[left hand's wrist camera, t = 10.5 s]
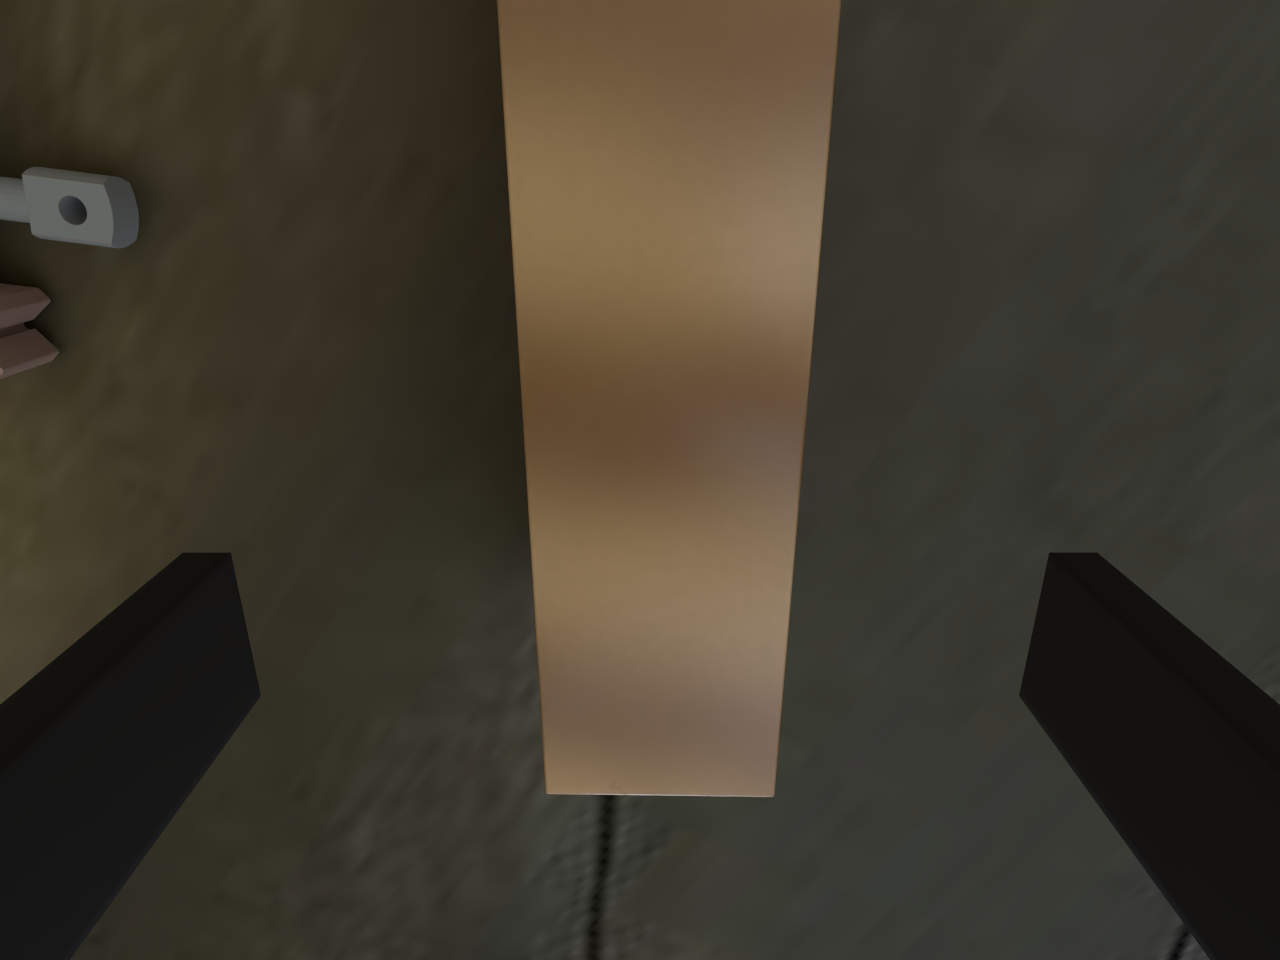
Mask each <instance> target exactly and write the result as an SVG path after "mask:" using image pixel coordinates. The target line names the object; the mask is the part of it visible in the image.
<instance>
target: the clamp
mask: <svg viewBox="0 0 1280 960" xmlns="http://www.w3.org/2000/svg"><path fill="white" fill-rule="evenodd" d="M0 219H1V220H9V221H17V222H25V223H30V226H31V231H32V234H33V235H34V236H36V237H38V238H41V239H48V240H56V241H64V242H72V243H80V244H88V245H96V246H104V247H111V248H125V247H127V246H129V245H131V244H132V243H133V242H135V241H136V240H137V235H138V229H139V215H138V207H137V203H136V199H135V195H134V193H133V190H132V187H131V185H130V183H129V182H127V181H126V180H124V179H122V178H120V177H116V176H108V175H101V174H93V173H85V172H77V171H69V170H61V169H53V168H46V167H31V168H29V169H27V170H26V171H25V172H24V173H23V174H22V179H17V178H9V177H1V176H0ZM50 302H51V300H50V298H49V297H47V296H46V295H45V294H44V293H43V292H42V291H41V290H40V289H39V288H35V287H27V286H19V285H11V284H3V283H0V379H2V378H5V377H8V376H11V375H14V374H17V373H20V372H22V371H25V370H28V369H31V368H34V367H37V366H40V365H42V364H45V363H48V362H51V361H52V360H53V359H54V358H55V357H56V356H57V355H58V354H59V350H58V349H57V348H55V347H54V346H53V345H52V344H51V343H50V342H49V341H48V340H47V339H46V338H45V337H44V336H43V335H42V334H40V333H39V332H38V331H37V330H36V329H28V328H26V327H25V325H24V322H27V321H31V320H34V319H35V318H36V317H37V316H38V314H39V313H40V312H41V311H42V310H43V309H44V308H45V307H46V306H47V305H48V304H49V303H50Z"/></svg>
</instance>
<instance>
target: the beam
mask: <svg viewBox="0 0 1280 960" xmlns="http://www.w3.org/2000/svg"><path fill="white" fill-rule="evenodd" d="M840 11H841V0H497V14H498V30H499V46H500V62H501V78H502V94H503V111H504V127H505V143H506V159H507V175H508V191H509V207H510V224H511V240H512V256H513V272H514V288H515V304H516V321H517V337H518V353H519V369H520V385H521V401H522V417H523V434H524V450H525V466H526V482H527V498H528V514H529V530H530V547H531V563H532V579H533V595H534V611H535V627H536V644H537V660H538V676H539V692H540V708H541V724H542V740H543V757H544V773H545V789H546V793H547V794H589V795H663V796H738V797H773V796H774V794H775V784H776V772H777V760H778V748H779V736H780V724H781V712H782V700H783V689H784V677H785V665H786V653H787V641H788V629H789V617H790V605H791V593H792V581H793V570H794V558H795V546H796V534H797V522H798V510H799V498H800V486H801V474H802V463H803V451H804V439H805V427H806V415H807V403H808V391H809V379H810V367H811V356H812V344H813V332H814V320H815V308H816V296H817V284H818V272H819V260H820V249H821V237H822V225H823V213H824V201H825V189H826V177H827V165H828V153H829V141H830V130H831V118H832V106H833V94H834V82H835V70H836V58H837V46H838V34H839V23H840Z"/></svg>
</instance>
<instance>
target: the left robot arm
mask: <svg viewBox="0 0 1280 960" xmlns="http://www.w3.org/2000/svg"><path fill="white" fill-rule="evenodd" d="M260 696H261V694H260V690H259V685H258V680H257V675H256V671H255V666H254V661H253V657H252V652H251V647H250V642H249V638H248V633H247V628H246V623H245V619H244V614H243V609H242V604H241V600H240V595H239V590H238V585H237V581H236V576H235V571H234V566H233V562H232V557H231V553H182V554H181V555H179V556H178V557H177V558H176V559H175V560H173V561H172V562H171V563H170V564H169V565H167V566H166V567H165V568H164V569H163V570H161V571H160V572H159V573H158V574H157V575H155V576H154V577H153V578H152V579H151V580H149V581H148V582H147V583H146V584H145V585H143V586H142V587H141V588H140V589H139V590H137V591H136V592H135V593H134V594H133V595H131V596H130V597H129V598H128V599H127V600H125V601H124V602H123V603H122V604H121V605H119V606H118V607H117V608H116V609H115V610H113V611H112V612H111V613H110V614H109V615H107V616H106V617H105V618H104V619H103V620H101V621H100V622H99V623H98V624H97V625H95V626H94V627H93V628H92V629H91V630H89V631H88V632H87V633H86V634H85V635H83V636H82V637H81V638H80V639H79V640H77V641H76V642H75V643H74V644H73V645H71V646H70V647H69V648H68V649H67V650H65V651H64V652H63V653H62V654H61V655H59V656H58V657H57V658H56V659H55V660H53V661H52V662H51V663H50V664H49V665H47V666H46V667H45V668H44V669H43V670H41V671H40V672H39V673H38V674H37V675H35V676H34V677H33V678H32V679H31V680H29V681H28V682H27V683H26V684H25V685H23V686H22V687H21V688H20V689H19V690H17V691H16V692H15V693H14V694H13V695H11V696H10V697H9V698H8V699H7V700H5V701H4V702H3V703H2V704H1V705H0V960H70V959H71V957H72V956H73V955H74V953H75V952H76V950H77V949H78V948H79V946H80V945H81V943H82V942H83V941H84V939H85V938H86V937H87V935H88V934H89V932H90V931H91V930H92V928H93V927H94V925H95V924H96V923H97V921H98V920H99V919H100V917H101V916H102V914H103V913H104V912H105V910H106V909H107V908H108V906H109V905H110V903H111V902H112V901H113V899H114V898H115V896H116V895H117V894H118V892H119V891H120V890H121V888H122V887H123V885H124V884H125V883H126V881H127V880H128V879H129V877H130V876H131V874H132V873H133V872H134V870H135V869H136V867H137V866H138V865H139V863H140V862H141V861H142V859H143V858H144V856H145V855H146V854H147V852H148V851H149V849H150V848H151V847H152V845H153V844H154V843H155V841H156V840H157V838H158V837H159V836H160V834H161V833H162V832H163V830H164V829H165V827H166V826H167V825H168V823H169V822H170V820H171V819H172V818H173V816H174V815H175V814H176V812H177V811H178V809H179V808H180V807H181V805H182V804H183V802H184V801H185V800H186V798H187V797H188V796H189V794H190V793H191V791H192V790H193V789H194V787H195V786H196V785H197V783H198V782H199V780H200V779H201V778H202V776H203V775H204V773H205V772H206V771H207V769H208V768H209V767H210V765H211V764H212V762H213V761H214V760H215V758H216V757H217V756H218V754H219V753H220V751H221V750H222V749H223V747H224V746H225V744H226V743H227V742H228V740H229V739H230V738H231V736H232V735H233V733H234V732H235V731H236V729H237V728H238V726H239V725H240V724H241V722H242V721H243V720H244V718H245V717H246V715H247V714H248V713H249V711H250V710H251V709H252V707H253V706H254V704H255V703H256V702H257V700H258V699H259V697H260ZM1019 696H1020V697H1021V699H1022V700H1023V702H1024V703H1025V704H1026V706H1027V707H1028V709H1029V710H1030V711H1031V713H1032V714H1033V715H1034V717H1035V718H1036V720H1037V721H1038V722H1039V724H1040V725H1041V726H1042V728H1043V729H1044V731H1045V732H1046V733H1047V735H1048V736H1049V738H1050V739H1051V740H1052V742H1053V743H1054V744H1055V746H1056V747H1057V749H1058V750H1059V751H1060V753H1061V754H1062V756H1063V757H1064V758H1065V760H1066V761H1067V762H1068V764H1069V765H1070V767H1071V768H1072V769H1073V771H1074V772H1075V773H1076V775H1077V776H1078V778H1079V779H1080V780H1081V782H1082V783H1083V785H1084V786H1085V787H1086V789H1087V790H1088V791H1089V793H1090V794H1091V796H1092V797H1093V798H1094V800H1095V801H1096V803H1097V804H1098V805H1099V807H1100V808H1101V809H1102V811H1103V812H1104V814H1105V815H1106V816H1107V818H1108V819H1109V820H1110V822H1111V823H1112V825H1113V826H1114V827H1115V829H1116V830H1117V832H1118V833H1119V834H1120V836H1121V837H1122V838H1123V840H1124V841H1125V843H1126V844H1127V845H1128V847H1129V848H1130V849H1131V851H1132V852H1133V854H1134V855H1135V856H1136V858H1137V859H1138V861H1139V862H1140V863H1141V865H1142V866H1143V867H1144V869H1145V870H1146V872H1147V873H1148V874H1149V876H1150V877H1151V879H1152V880H1153V881H1154V883H1155V884H1156V885H1157V887H1158V888H1159V890H1160V891H1161V892H1162V894H1163V895H1164V896H1165V898H1166V899H1167V901H1168V902H1169V903H1170V905H1171V906H1172V908H1173V909H1174V910H1175V912H1176V913H1177V914H1178V916H1179V917H1180V919H1181V920H1182V921H1183V923H1184V924H1185V925H1186V927H1187V928H1188V930H1189V931H1190V932H1191V934H1192V935H1193V937H1194V938H1195V939H1196V941H1197V942H1198V943H1199V945H1200V946H1201V948H1202V949H1203V950H1204V952H1205V953H1206V955H1207V956H1208V957H1209V959H1210V960H1280V705H1279V704H1278V703H1277V702H1276V701H1275V700H1273V699H1272V698H1271V697H1270V696H1269V695H1267V694H1266V693H1265V692H1264V691H1263V690H1261V689H1260V688H1259V687H1258V686H1257V685H1255V684H1254V683H1253V682H1252V681H1251V680H1249V679H1248V678H1247V677H1246V676H1245V675H1243V674H1242V673H1241V672H1240V671H1239V670H1237V669H1236V668H1235V667H1234V666H1233V665H1231V664H1230V663H1229V662H1228V661H1227V660H1225V659H1224V658H1223V657H1222V656H1221V655H1219V654H1218V653H1217V652H1216V651H1215V650H1213V649H1212V648H1211V647H1210V646H1209V645H1207V644H1206V643H1205V642H1204V641H1203V640H1201V639H1200V638H1199V637H1198V636H1197V635H1195V634H1194V633H1193V632H1192V631H1191V630H1189V629H1188V628H1187V627H1186V626H1185V625H1183V624H1182V623H1181V622H1180V621H1179V620H1177V619H1176V618H1175V617H1174V616H1173V615H1171V614H1170V613H1169V612H1168V611H1167V610H1165V609H1164V608H1163V607H1162V606H1161V605H1159V604H1158V603H1157V602H1156V601H1155V600H1153V599H1152V598H1151V597H1150V596H1149V595H1147V594H1146V593H1145V592H1144V591H1143V590H1141V589H1140V588H1139V587H1138V586H1137V585H1135V584H1134V583H1133V582H1132V581H1131V580H1129V579H1128V578H1127V577H1126V576H1125V575H1123V574H1122V573H1121V572H1120V571H1119V570H1117V569H1116V568H1115V567H1114V566H1113V565H1111V564H1110V563H1109V562H1108V561H1107V560H1105V559H1104V558H1103V557H1102V556H1101V555H1099V554H1098V553H1049V557H1048V562H1047V566H1046V571H1045V576H1044V581H1043V585H1042V590H1041V595H1040V600H1039V604H1038V609H1037V614H1036V619H1035V623H1034V628H1033V633H1032V638H1031V642H1030V647H1029V652H1028V657H1027V661H1026V666H1025V671H1024V675H1023V680H1022V685H1021V690H1020V694H1019Z"/></svg>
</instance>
